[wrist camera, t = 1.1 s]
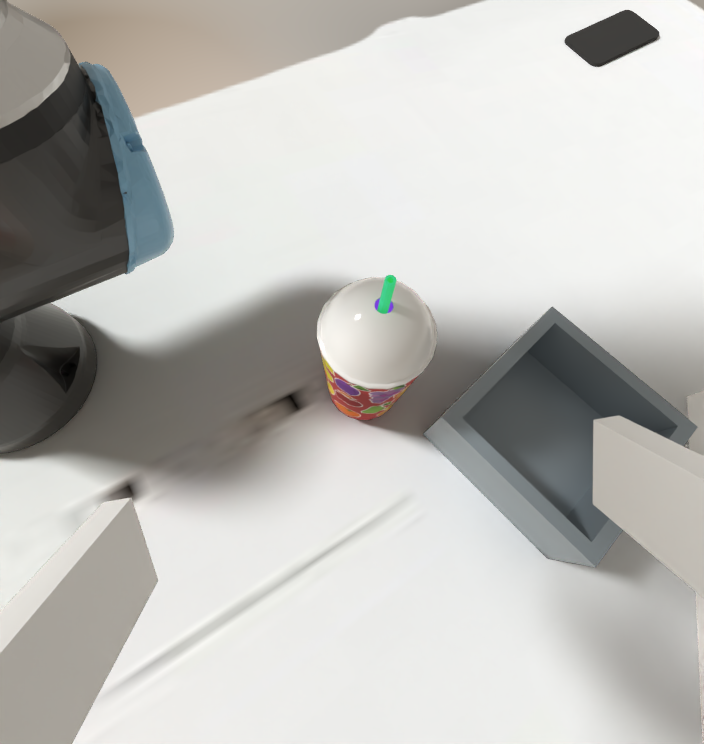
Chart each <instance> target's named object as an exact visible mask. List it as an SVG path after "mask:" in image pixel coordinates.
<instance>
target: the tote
mask: <svg viewBox="0 0 704 744" xmlns="http://www.w3.org/2000/svg"><path fill="white" fill-rule="evenodd" d="M618 415H619V416H622V417H624V418H626V419H628V420H630V421H632V422H634V423H636V424H638V425H640V426H642V427H644V428H646V429H648V430H651V431H653V432H655V433H657V434H659V435H661V436H663V437H665V438H667V439H669V440H671V441H673V442H675V443H677V444H680V445H682V446H684V445H685V444H686V443H687V441H688V440H689V438H690V437H691V436H692V434H693V433H694V432H695V430H696V429H697V426H696V425H695V424H694V423H692V422H691V421H690V420H689V419H688V418H686V417H685V416H684V415H683V414H682V413H680V412H679V411H678V410H677V409H676V408H674V407H673V406H672V405H671V404H670V403H668V402H667V401H666V400H665V399H663V398H662V397H661V396H660V395H659V394H657V393H656V392H655V391H654V390H653V389H651V388H650V387H649V386H648V385H647V384H645V383H644V382H643V381H642V380H640V379H639V378H638V377H637V376H636V375H634V374H633V373H632V372H631V371H630V370H628V369H627V368H626V367H625V366H624V365H622V364H621V363H620V362H619V361H618V360H616V359H615V358H614V357H613V356H611V355H610V354H609V353H608V352H607V351H605V350H604V349H603V348H602V347H601V346H599V345H598V344H597V343H596V342H595V341H593V340H592V339H591V338H590V337H589V336H587V335H586V334H585V333H584V332H582V331H581V330H580V329H579V328H578V327H576V326H575V325H574V324H573V323H572V322H570V321H569V320H568V319H567V318H566V317H564V316H563V315H562V314H561V313H560V312H558V311H557V310H556V309H555V308H553V307H551V308H550V309H549V310H548V311H547V312H546V313H545V314H544V315H543V316H542V317H541V318H540V319H538V320H537V321H536V322H535V323H534V324H533V325H532V326H531V327H530V328H529V329H528V330H527V331H526V332H525V333H524V334H523V335H522V336H521V337H520V338H518V339H517V340H516V341H515V342H514V343H513V344H512V345H511V346H510V347H509V348H508V349H507V350H506V351H505V352H504V353H503V354H502V355H501V356H500V357H499V358H498V359H497V360H496V361H495V362H494V363H493V364H492V365H491V366H490V367H489V368H488V369H487V370H486V371H485V372H484V373H483V374H482V375H481V376H480V377H479V378H478V379H477V380H476V381H475V382H474V383H473V384H472V385H471V386H470V387H469V388H468V389H467V390H466V391H465V392H464V393H463V394H462V395H461V396H460V397H459V398H458V399H457V400H456V401H455V402H454V403H453V404H452V405H451V406H450V407H449V408H448V409H447V410H446V411H445V412H444V413H443V414H442V415H441V416H440V417H439V418H438V419H437V420H436V421H435V422H434V423H433V424H432V425H431V426H430V427H429V428H428V429H427V430H426V431H425V432H424V435H425V436H426V437H427V438H428V439H429V440H430V441H431V442H432V443H433V444H434V445H435V446H436V447H437V448H438V449H439V450H440V451H441V452H442V453H443V454H444V455H445V456H446V457H447V458H448V459H449V460H450V461H451V462H452V464H453V465H454V466H455V467H456V468H457V469H458V470H459V471H460V472H461V473H462V474H463V475H464V476H465V477H466V478H467V479H468V480H469V481H470V482H471V483H472V484H473V485H474V486H475V487H476V488H477V489H478V490H479V491H480V492H481V493H482V494H483V495H484V496H485V497H486V498H487V499H488V500H489V501H490V502H491V503H492V504H493V505H494V506H495V507H496V508H497V509H498V510H499V511H500V512H501V513H502V514H503V515H504V516H505V517H506V518H507V519H508V520H509V521H510V522H511V523H512V524H513V525H514V526H515V527H516V528H517V529H518V530H519V531H520V532H521V533H522V534H523V535H524V536H525V537H526V538H527V539H528V540H529V541H530V542H531V543H532V544H533V545H534V546H535V547H536V548H537V549H538V550H539V551H540V552H541V553H542V554H543V555H544V556H545V557H546V558H548V559H554V560H559V561H564V562H570V563H575V564H581V565H586V566H591V567H596V566H597V565H598V564H599V562H600V561H601V560H602V558H603V557H604V555H605V554H606V553H607V551H608V550H609V549H610V547H611V546H612V544H613V543H614V542H615V540H616V539H617V538H618V536H619V535H620V533H621V532H622V531H623V530H622V529H621V528H620V527H619V526H618V525H617V524H615V523H614V522H613V521H612V520H611V519H610V518H608V517H607V516H606V515H605V514H604V513H603V512H601V511H600V510H599V509H598V508H597V507H596V506H594V505H593V420H595V419H601V418H606V417H612V416H618Z"/></svg>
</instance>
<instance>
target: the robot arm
mask: <svg viewBox="0 0 704 744" xmlns="http://www.w3.org/2000/svg"><path fill="white" fill-rule="evenodd" d="M173 237H174V229H173V223H172V219H171V215H170V212H169V209H168V206H167V203H166V200H165V197H164V194H163V191H162V188H161V186H160V183H159V180H158V178H157V175H156V172H155V170H154V167H153V165H152V162H151V160H150V157H149V155H148V153H147V151H146V149H145V147H144V146H143V145H142V139H141V137H140V135H139V132H138V130H137V127H136V124H135V121H134V119H133V116H132V114H131V112H130V110H129V108H128V105H127V104H126V101H125V99H124V97H123V95H122V93H121V91H120V89H119V87H118V85H117V83H116V81H115V80H114V78H113V77H112V75H111V74H110V72H109V71H108V70H107V69H106V68H105V67H103V66H101V65H99V64H93V65H92V64H90V63H88V62H84V63H83V62H82V63H79V65H78V64H77V62H76V61H75V59H74V57H73V55H72V53H71V51H70V50H69V48H68V46H67V44H66V42H65V40H64V39H63V37H62V36H61V34H60V33H59V32H58V31H57V30H56V29H55V28H53V27H52V26H50V25H49V24H47V23H45V22H44V21H42V20H40V19H38V18H36V17H34V16H33V15H31V14H29V13H27V12H25V11H23V10H21V9H20V8H17V7H16V6H14V5H12V4H10V3H9V2H8V1H7V0H0V453H7V452H12V451H16V450H20V449H23V448H26V447H29V446H31V445H34V444H36V443H38V442H40V441H42V440H44V439H46V438H47V437H49V436H50V435H52V434H53V433H55V432H56V431H58V430H59V429H60V428H61V427H63V426H64V425H65V424H66V423H67V422H68V421H69V420H70V419H71V418H72V417H73V416H74V415H75V414H76V413H77V411H78V410H79V409H80V407H81V406H82V404H83V403H84V401H85V400H86V398H87V396H88V394H89V392H90V390H91V388H92V385H93V382H94V378H95V374H96V366H97V358H96V350H95V346H94V343H93V341H92V339H91V337H90V335H89V333H88V332H87V330H86V329H85V328H84V327H83V326H82V325H81V324H80V323H79V322H78V321H77V320H75V319H74V318H73V317H72V316H70V315H69V314H68V313H66V312H65V311H64V310H62V309H61V308H59V307H57V306H55V305H53V304H51V302H54V301H56V300H59V299H61V298H64V297H66V296H69V295H71V294H74V293H76V292H79V291H81V290H84V289H86V288H89V287H91V286H94V285H96V284H99V283H101V282H104V281H106V280H109V279H111V278H114V277H116V276H119V275H121V274H124V273H125V274H129V273H130V272H132V271H133V270H134V269H135V267H137V266H139V265H141V264H143V263H145V262H147V261H150V260H152V259H154V258H156V257H158V256H160V255H162V254H164V253H165V252H166V251H167V250H168V249H169V247H170V245H171V244H172V242H173ZM593 505H594V506H596V507H597V508H598V509H599V510H600V511H601V512H603V513H604V514H605V515H606V516H607V517H608V518H610V519H611V520H612V521H613V522H614V523H615V524H617V525H618V526H619V527H620V528H621V529H622V530H624V531H625V532H626V533H627V534H628V535H629V536H631V537H632V538H633V539H634V540H635V541H636V542H638V543H639V544H640V545H641V546H642V547H643V548H645V549H646V550H647V551H648V552H649V553H650V554H652V555H653V556H654V557H655V558H656V559H657V560H659V561H660V562H661V563H662V564H663V565H664V566H666V567H667V568H668V569H669V570H670V571H671V572H673V573H674V574H675V575H676V576H677V577H678V578H680V579H681V580H682V581H683V582H684V583H685V584H687V585H688V586H689V587H690V588H691V589H692V590H694V591H695V592H696V593H697V594H698V595H699V596H701V597H702V598H703V599H704V456H702V455H700V454H698V453H696V452H694V451H692V450H690V449H688V448H686V447H684V446H682V445H680V444H677V443H675V442H673V441H671V440H669V439H667V438H665V437H663V436H661V435H659V434H657V433H655V432H653V431H651V430H648V429H646V428H644V427H642V426H640V425H638V424H636V423H634V422H632V421H630V420H628V419H626V418H624V417H622V416H619V415H618V416H612V417H606V418H601V419H595V420H593ZM157 582H158V578H157V575H156V572H155V569H154V566H153V563H152V560H151V557H150V554H149V551H148V548H147V545H146V541H145V538H144V535H143V532H142V529H141V526H140V523H139V520H138V517H137V514H136V511H135V508H134V504H133V501H132V498H126V499H120V500H114V501H108V502H103V503H102V504H101V505H100V506H99V507H98V508H97V509H96V510H95V511H94V512H93V514H92V515H91V516H90V517H89V518H88V519H87V520H86V521H85V522H84V523H83V524H82V525H81V526H80V527H79V528H78V529H77V530H76V531H75V533H74V534H73V535H72V536H71V537H70V538H69V539H68V540H67V541H66V542H65V543H64V544H63V545H62V546H61V547H60V548H59V549H58V551H57V552H56V553H55V554H54V555H53V556H52V557H51V558H50V559H49V560H48V561H47V562H46V563H45V564H44V565H43V566H42V567H41V568H40V570H39V571H38V572H37V573H36V574H35V575H34V576H33V577H32V578H31V579H30V580H29V581H28V582H27V583H26V584H25V585H24V586H23V588H22V589H21V590H20V591H19V592H18V593H17V594H16V595H15V596H14V597H13V598H12V599H11V600H10V601H9V602H8V603H7V604H6V606H5V607H4V608H3V609H2V610H1V611H0V744H72V743H73V741H74V739H75V737H76V735H77V733H78V731H79V729H80V728H81V726H82V724H83V722H84V720H85V718H86V716H87V714H88V712H89V710H90V709H91V707H92V705H93V703H94V701H95V699H96V697H97V695H98V693H99V692H100V690H101V688H102V686H103V684H104V682H105V680H106V678H107V676H108V675H109V673H110V671H111V669H112V667H113V665H114V663H115V661H116V659H117V657H118V656H119V654H120V652H121V650H122V648H123V646H124V644H125V642H126V640H127V639H128V637H129V635H130V633H131V631H132V629H133V627H134V625H135V623H136V622H137V620H138V618H139V616H140V614H141V612H142V610H143V608H144V606H145V604H146V603H147V601H148V599H149V597H150V595H151V593H152V591H153V589H154V587H155V586H156V584H157Z"/></svg>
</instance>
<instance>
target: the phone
mask: <svg viewBox="0 0 704 744" xmlns="http://www.w3.org/2000/svg"><path fill="white" fill-rule="evenodd" d="M658 36H659V31H658V30H657V29H655V28H654V27H653V26H651V25H650V24H649V23H647V22H646V21H645V20H643V19H642V18H641V17H639V16H638V15H637V14H635V13H634V12H632V11H630V10H624V11H622V12H619V13H617V14H615V15H613V16H611V17H608V18H606V19H604V20H602V21H600V22H597V23H595V24H593V25H591V26H589V27H586V28H584V29H582V30H580V31H578V32H575V33H573V34H571V35H569V36H567V37H566V39H565V44H566V45H567V46H568V47H570V48H571V49H572V50H573V51H574V52H576V53H577V54H578V55H579V56H580V57H582V58H583V59H584V60H585V61H586V62H588V63H589V64H590V65H592V66H595V67H599V66H602V65H604V64H606V63H608V62H610V61H612V60H614V59H616V58H618V57H620V56H623V55H625V54H627V53H629V52H631V51H633V50H635V49H638V48H640V47H642V46H644V45H646V44H648V43H650V42H652V41H654V40H656V39H657V37H658Z"/></svg>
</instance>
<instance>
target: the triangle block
mask: <svg viewBox="0 0 704 744" xmlns="http://www.w3.org/2000/svg"><path fill="white" fill-rule="evenodd" d="M687 412H688V419H689V420H690V421H691V422H692V423H694V424H695V425H696V426H697V429H696V430H695V432H694V433H693V434H692V436H691V437H690V438H689V449H690V450H692V451H694V452H696V453H698V454H700V455H702V456H704V391H701V392H698V393H695V394H692V395H689V396H687ZM696 612H697V634H698V657H699V679H700V701H701V724H702V744H704V599H703V598H702V597H701V596H699V595H698V594H697V593H696Z"/></svg>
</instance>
